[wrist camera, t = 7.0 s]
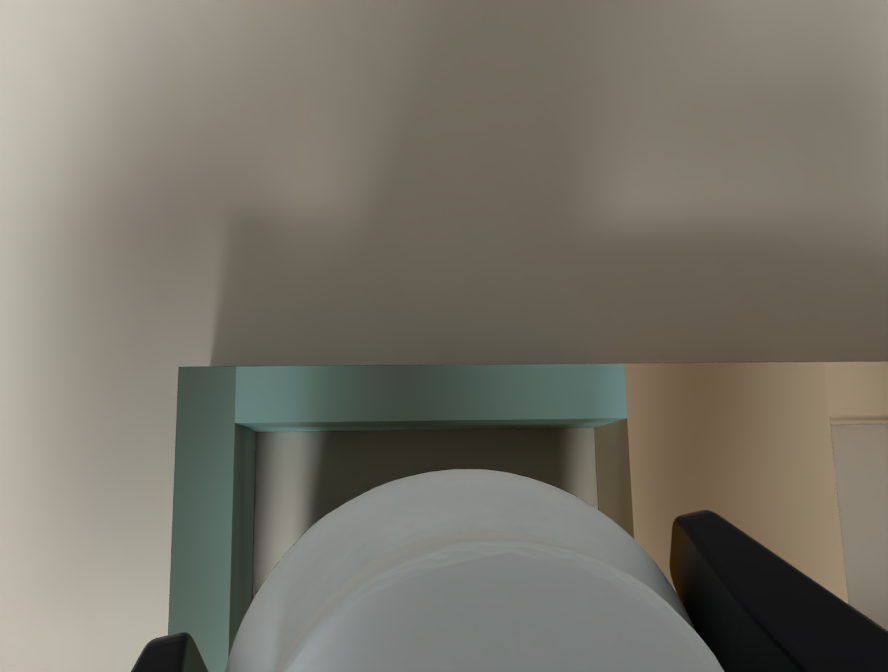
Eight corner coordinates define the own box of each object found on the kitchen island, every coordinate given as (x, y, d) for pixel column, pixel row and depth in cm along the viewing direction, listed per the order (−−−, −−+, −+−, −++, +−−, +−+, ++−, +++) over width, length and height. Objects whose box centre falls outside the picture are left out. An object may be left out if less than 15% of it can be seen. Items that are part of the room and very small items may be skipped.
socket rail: (1115, 375, 18) (1223, 358, 16) (1187, 816, 17) (1319, 870, 14) (207, 383, 17) (178, 367, 15) (191, 866, 15) (155, 934, 13)
